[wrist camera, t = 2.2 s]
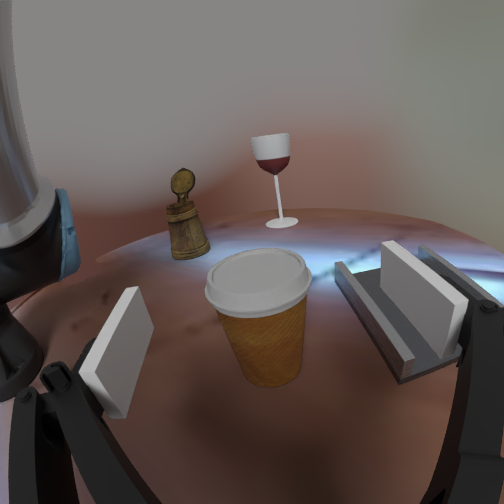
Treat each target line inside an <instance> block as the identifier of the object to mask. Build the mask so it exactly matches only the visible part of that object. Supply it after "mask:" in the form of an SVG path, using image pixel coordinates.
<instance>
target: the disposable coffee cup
mask: <svg viewBox="0 0 504 504" xmlns="http://www.w3.org/2000/svg"><path fill="white" fill-rule="evenodd" d="M311 280H312V276H311V272H310V270H309V269H308V268H307V267H306V264H305V261H304V259H303V258H302V257H301V256H300V255H299V254H297V253H295V252H293V251H290V250H286V249H279V248H261V249H253V250H247V251H244V252H240V253H237V254H234V255H231V256H229V257H227V258H225V259H223V260H221V261H219V262H218V263H217V264H215V265H214V266H213V267H212V268H211V269H210V271H209V272H208V276H207V284H206V287H205V295H206V298H207V300H208V301H209V302H210V303H211V304H212V306H213V307H214V308H215V309H216V311H217V314H218V316H219V319H220V321H221V323H222V325H223V328H224V330H225V333H226V335H227V337H228V339H229V342H230V344H231V346H232V349H233V351H234V353H235V355H236V357H237V360H238V362H239V364H240V366H241V369H242V370H243V373H244V375H245V377H246V379H247V380H249V381H250V382H251V383H253V384H255V385H258V386H261V387H276V386H280V385H284V384H286V383H288V382H290V381H291V380H292V379H294V378H295V377H296V376H297V374H298V373H299V371H300V369H301V360H302V350H303V340H304V327H305V314H306V298H307V293H308V290H309V287H310V285H311Z"/></svg>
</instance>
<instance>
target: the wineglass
mask: <svg viewBox="0 0 504 504" xmlns="http://www.w3.org/2000/svg"><path fill="white" fill-rule="evenodd" d="M251 144H252V148H253V152H254V155H255V158H256V161H257V163H258V165H259V166H260V168H262V169H263V170H265V171H267V172H269V173H271V174H273V175H274V180H275V187H276V194H277V202H278V209H279V216H280V218H277V219H273V220H271V221H269V222H267V223H266V226H267V227H270V228H285V227H289V226H292V225H295V224H296V223H298V220H297V219H296V218H289V217H286V218H283V214H282V207H281V199H280V192H279V184H278V178H277V174H278V173H279V172H281V171H282V170H283V169H284V168H285V167H286V166H287V165H288V163H289V160H290V138H289V133H283V134H275V135H268V136H261V137H255V138H251Z"/></svg>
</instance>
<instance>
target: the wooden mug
mask: <svg viewBox="0 0 504 504" xmlns="http://www.w3.org/2000/svg"><path fill="white" fill-rule="evenodd" d="M194 185H195V176H194V174H193V172H191V171H190V170H187V169H185V168H182V169H180V170H179V171H178V172H177V173H175V174H174V175H173V177H172V179H171V190H172V192H173V193H175V194H176V195H177V196H178V202H177V203H175V204H171V205H169V206H167V213H166V217H167V221H168V224H169V231H170V239H171V252H172V256H173V258H175V259H179V260H185V259H191V258H195V257H198V256H201V255H203V254H205V253H206V252H208V251H209V250H210V245H209V242H208V239H207V238H206V236H205V234H204V231H203V228H202V225H201V223H200V220H199V217H198V214H197V213H198V211H197V209H196V206H194V203H193V201H188V193H189V192H190V191H191V190H192V188H193V187H194ZM182 193H183V194H182Z"/></svg>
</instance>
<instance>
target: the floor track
mask: <svg viewBox="0 0 504 504" xmlns="http://www.w3.org/2000/svg"><path fill="white" fill-rule="evenodd" d="M418 259H419V260H420V261H421V262H423V263H424V264H425V265H426V266H428V267H429V268H430V269H432V270H433V271H434V272H435V273H437V274H438V275H439V274H442V275H445V276H447V277H450V278H451V279H452V280H454V281H455V282H456V283H457V284H459V285H460V286H461V287H462V288H464V289H465V290H466V291H467V292H469V293H470V294H471V295H472V296H473V297H475V298H476V299H477V300H482V299H487V300H491V301H493V302H495V303H497V304H498V305H499V306H500V307H504V305H503V304H502V303H500V302H499V301H498V300H497V299H496V298H494V297H493V296H492V295H491V294H489V293H488V292H487V291H486V290H484V289H483V288H482V287H481V286H479V285H478V284H477V283H476V282H474V281H473V280H472V279H470V278H469V277H468V276H467V275H465V274H464V273H463V272H461V271H460V270H459V269H457V268H456V267H455V266H453V265H452V264H450V263H449V262H448V261H446V260H445V259H444V258H442V257H441V256H439V255H438V254H437V253H435V252H434V251H432V250H431V249H429V248H428V247H427V246H425V245H420V246H418ZM380 277H381V268H378V269H373V270H369V271H364V272H359V273H354V274H352V273H351V272H350V271H349V269H348V268H347V267H346V266H345V264H344V263H343V262H342V261H341V262H335V282H336V284H337V285H338V287H339V289H340V290H341V292H342V293H343V295H344V296H345V298H346V299H347V301H348V302H349V304H350V306H351V307H352V309H353V310H354V312H355V313H356V315H357V316H358V318H359V320H360V321H361V323H362V324H363V326H364V328H365V329H366V331H367V332H368V334H369V336H370V337H371V339H372V341H373V342H374V344H375V345H376V347H377V349H378V350H379V352H380V354H381V355H382V357H383V359H384V360H385V362H386V364H387V365H388V367H389V369H390V370H391V372H392V374H393V376H394V377H395V379H396V381H397V382H398V384H402V383H405V382H408V381H411V380H413V379H416V378H419V377H421V376H424V375H426V374H429V373H431V372H434V371H436V370H439V369H441V368H443V367H446V366H448V365H450V364H452V363H455V362H457V361H458V360H459V357H460V354H461V351H462V347H461V346H460V345H459V344H458V343H457V347H456V350H455V353H454V354H453V355H451V356H448V357H446V358H444V359H440V358H439V356H438V355H437V354H436V353H435V351H434V350H433V349H432V348H431V346H430V345H429V344H428V343H427V341H426V340H425V339H424V338H423V337H422V335H421V334H420V333H419V332H418V331H417V329H416V328H415V327H414V326H413V325H412V323H411V322H410V321H409V320H408V319H407V317H406V316H405V315H404V314H403V313H402V312H401V310H400V309H399V308H398V307H397V306H396V305H395V303H394V302H393V301H392V300H391V299H390V298H389V297H388V295H387V294H386V293H385V292H384V291H383V290H382V289H381V288H380Z"/></svg>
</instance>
